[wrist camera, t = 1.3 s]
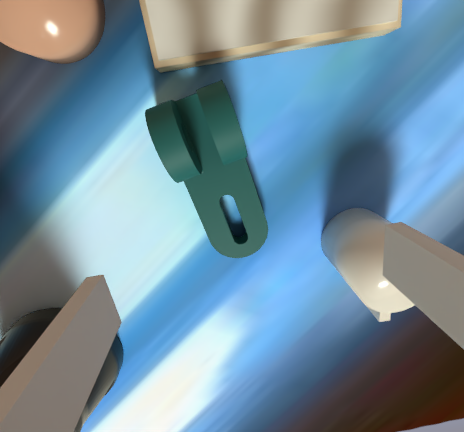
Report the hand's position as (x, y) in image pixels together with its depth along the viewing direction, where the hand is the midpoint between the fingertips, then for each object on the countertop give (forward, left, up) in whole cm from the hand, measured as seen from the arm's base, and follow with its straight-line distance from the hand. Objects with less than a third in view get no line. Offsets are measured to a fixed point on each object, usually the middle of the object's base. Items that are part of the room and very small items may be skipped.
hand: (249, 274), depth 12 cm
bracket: (-1, 0, -19) cm, 19 cm away
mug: (+14, -11, -19) cm, 26 cm away
